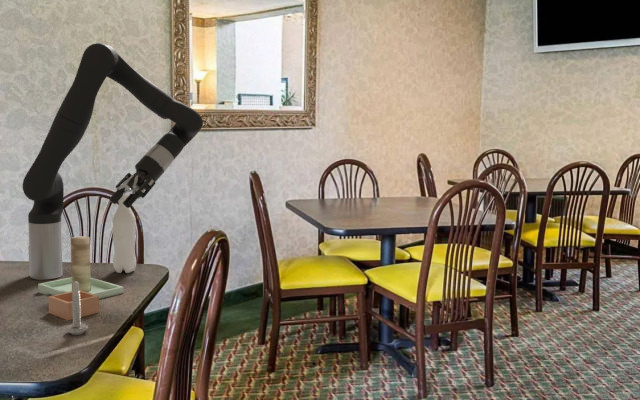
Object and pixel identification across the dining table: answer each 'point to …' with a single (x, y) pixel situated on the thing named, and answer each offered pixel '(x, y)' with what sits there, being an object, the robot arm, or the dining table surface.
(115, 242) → the water bottle
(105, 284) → the pale green tray
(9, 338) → the dining table surface
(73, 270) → the birch pin
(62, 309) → the terracotta holder
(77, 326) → the screw
